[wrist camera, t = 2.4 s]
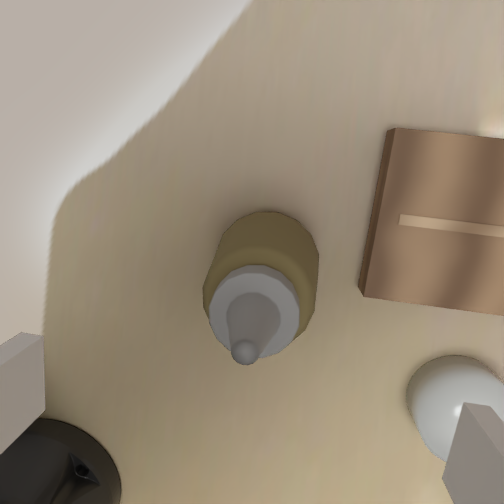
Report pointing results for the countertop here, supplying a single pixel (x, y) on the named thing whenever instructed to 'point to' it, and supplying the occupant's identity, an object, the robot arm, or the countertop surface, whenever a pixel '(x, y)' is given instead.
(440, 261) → the plate
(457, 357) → the white dome cap
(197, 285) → the countertop surface
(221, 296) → the squeeze bottle
